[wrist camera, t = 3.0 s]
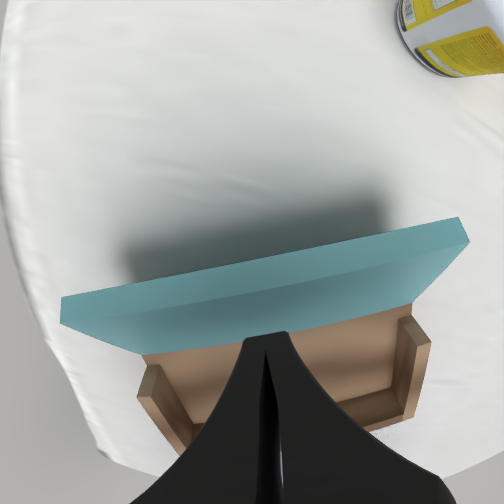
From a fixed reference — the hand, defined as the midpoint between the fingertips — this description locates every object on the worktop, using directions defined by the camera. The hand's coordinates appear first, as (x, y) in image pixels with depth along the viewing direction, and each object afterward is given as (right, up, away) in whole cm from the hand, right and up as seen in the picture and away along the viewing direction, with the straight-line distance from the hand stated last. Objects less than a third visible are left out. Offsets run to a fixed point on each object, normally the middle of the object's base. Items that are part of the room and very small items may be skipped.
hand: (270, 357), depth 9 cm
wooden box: (+2, -5, +12) cm, 13 cm away
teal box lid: (+1, -1, +8) cm, 8 cm away
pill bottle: (+11, +17, +4) cm, 21 cm away
